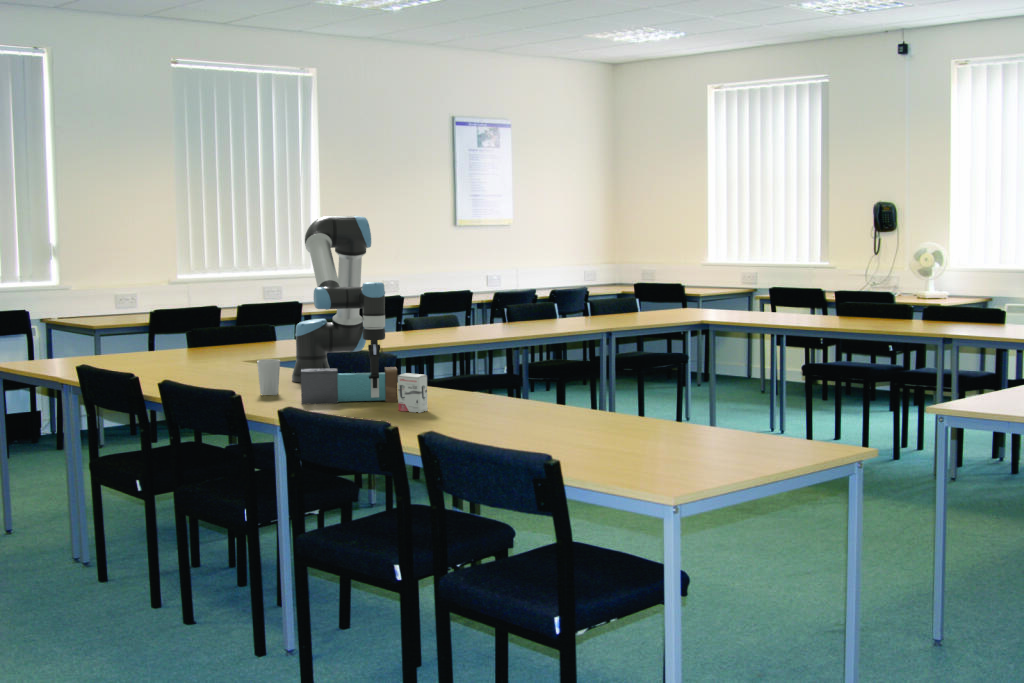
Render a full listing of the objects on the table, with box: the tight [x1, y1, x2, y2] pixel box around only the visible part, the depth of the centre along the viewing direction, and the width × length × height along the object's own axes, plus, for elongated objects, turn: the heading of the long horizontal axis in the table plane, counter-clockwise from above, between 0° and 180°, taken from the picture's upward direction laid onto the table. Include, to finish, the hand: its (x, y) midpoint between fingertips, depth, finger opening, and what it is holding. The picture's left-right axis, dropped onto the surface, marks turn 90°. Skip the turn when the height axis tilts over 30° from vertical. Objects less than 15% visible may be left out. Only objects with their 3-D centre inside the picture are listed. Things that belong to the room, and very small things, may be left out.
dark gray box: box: [300, 367, 339, 405], centre depth 367 cm, size 7×12×11 cm, turn 99°
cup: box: [256, 358, 281, 396], centre depth 384 cm, size 8×8×12 cm
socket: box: [384, 366, 398, 403], centre depth 371 cm, size 7×4×11 cm, turn 9°
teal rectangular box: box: [337, 371, 386, 402], centre depth 369 cm, size 4×22×9 cm, turn 99°
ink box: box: [397, 372, 429, 414], centre depth 350 cm, size 9×5×12 cm, turn 62°
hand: (374, 396), depth 371 cm, fingers closed on teal rectangular box, 4 cm apart
